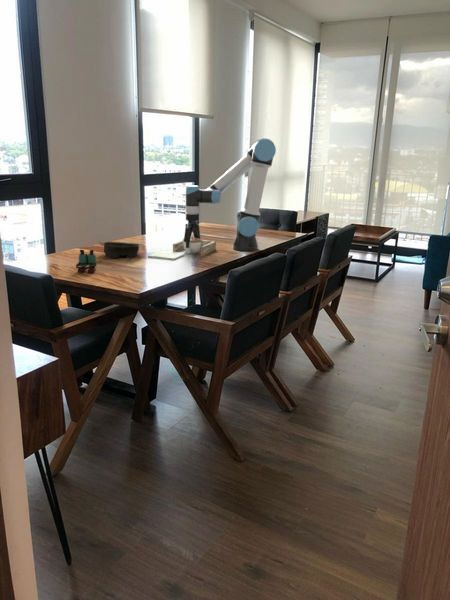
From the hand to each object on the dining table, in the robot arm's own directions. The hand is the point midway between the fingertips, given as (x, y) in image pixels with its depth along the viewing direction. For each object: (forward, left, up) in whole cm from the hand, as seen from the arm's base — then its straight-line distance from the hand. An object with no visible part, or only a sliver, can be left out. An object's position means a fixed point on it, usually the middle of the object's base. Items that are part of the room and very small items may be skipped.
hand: (192, 251), depth 288 cm
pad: (+8, +16, 0) cm, 18 cm away
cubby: (0, -4, 0) cm, 4 cm away
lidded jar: (0, 0, -1) cm, 1 cm away
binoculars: (+26, +66, -1) cm, 71 cm away
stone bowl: (+31, +26, -1) cm, 40 cm away
